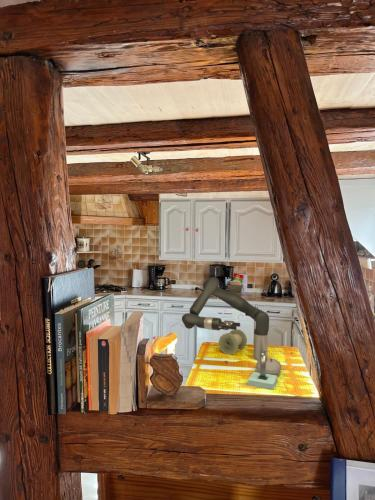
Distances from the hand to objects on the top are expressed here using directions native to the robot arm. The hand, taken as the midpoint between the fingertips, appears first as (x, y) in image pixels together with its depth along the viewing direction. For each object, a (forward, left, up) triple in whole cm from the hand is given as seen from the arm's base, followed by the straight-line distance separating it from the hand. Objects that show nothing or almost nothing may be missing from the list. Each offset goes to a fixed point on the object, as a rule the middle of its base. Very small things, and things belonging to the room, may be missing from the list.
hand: (238, 326), depth 201 cm
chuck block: (+4, +16, -30) cm, 34 cm away
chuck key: (+4, +16, -30) cm, 34 cm away
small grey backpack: (-13, +16, -30) cm, 37 cm away
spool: (-45, -16, -30) cm, 57 cm away
